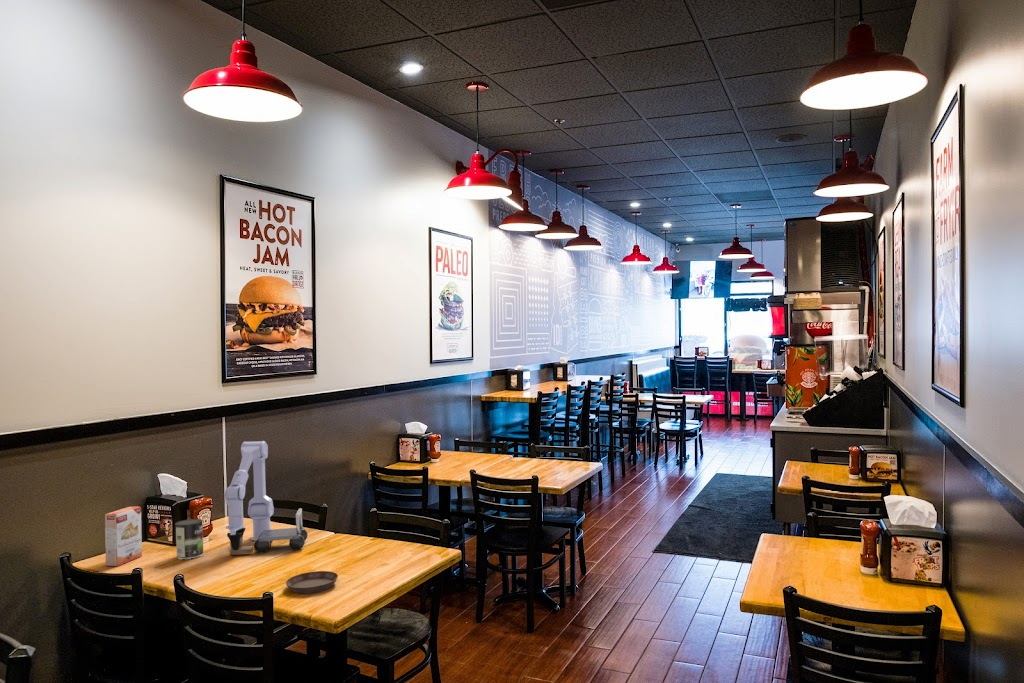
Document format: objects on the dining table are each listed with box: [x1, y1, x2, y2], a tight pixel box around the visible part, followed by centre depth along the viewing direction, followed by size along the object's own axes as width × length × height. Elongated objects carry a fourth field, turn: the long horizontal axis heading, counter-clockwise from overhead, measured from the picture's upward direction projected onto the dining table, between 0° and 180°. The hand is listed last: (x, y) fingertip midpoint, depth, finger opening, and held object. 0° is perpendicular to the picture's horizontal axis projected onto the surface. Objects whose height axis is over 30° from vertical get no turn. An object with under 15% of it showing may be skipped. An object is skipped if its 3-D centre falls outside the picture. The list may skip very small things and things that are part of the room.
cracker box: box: [104, 506, 143, 567], centre depth 290 cm, size 14×6×21 cm, turn 168°
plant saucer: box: [285, 570, 339, 594], centre depth 250 cm, size 18×18×3 cm
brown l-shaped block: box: [229, 536, 254, 556], centre depth 294 cm, size 4×8×6 cm, turn 100°
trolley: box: [253, 507, 308, 554], centre depth 302 cm, size 13×20×15 cm, turn 100°
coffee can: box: [174, 518, 205, 560], centre depth 294 cm, size 10×10×14 cm
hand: (237, 548), depth 293 cm, fingers closed on brown l-shaped block, 4 cm apart
